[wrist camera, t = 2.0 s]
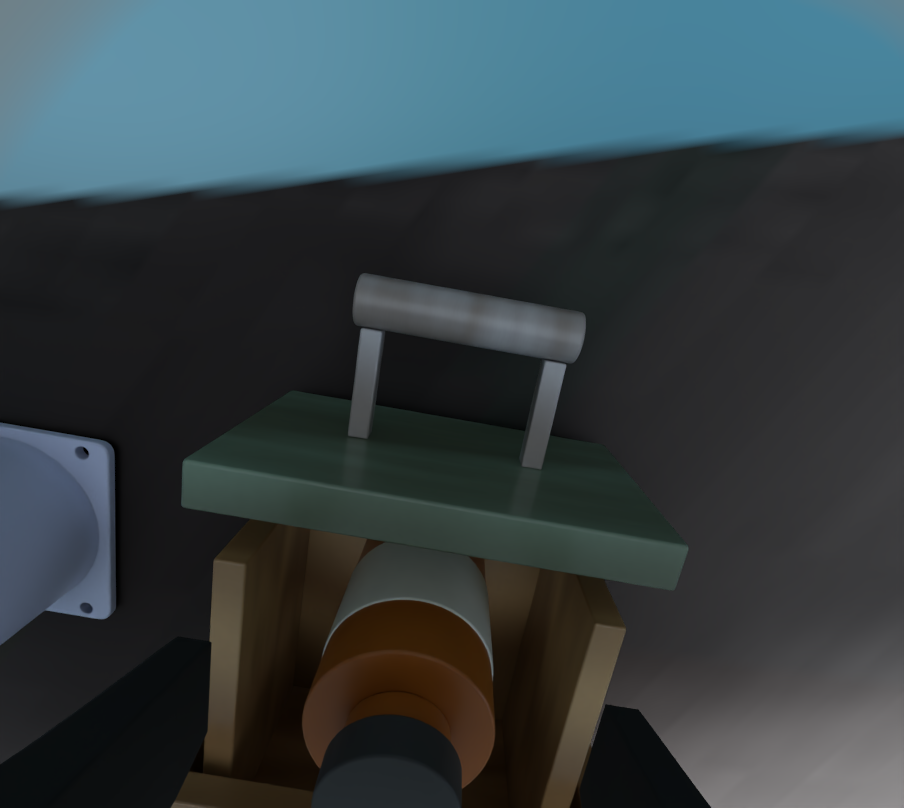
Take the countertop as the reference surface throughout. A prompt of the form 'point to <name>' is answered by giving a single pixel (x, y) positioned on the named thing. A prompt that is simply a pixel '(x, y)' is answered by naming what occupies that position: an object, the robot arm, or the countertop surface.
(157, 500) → the countertop surface
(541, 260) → the countertop surface
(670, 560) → the drawer
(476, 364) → the countertop surface
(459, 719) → the bottle
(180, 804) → the cabinet
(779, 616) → the countertop surface
